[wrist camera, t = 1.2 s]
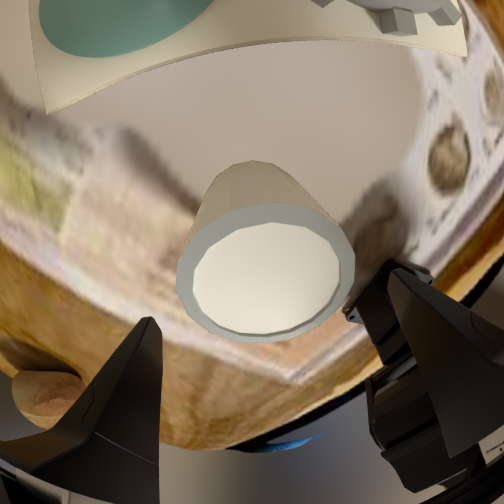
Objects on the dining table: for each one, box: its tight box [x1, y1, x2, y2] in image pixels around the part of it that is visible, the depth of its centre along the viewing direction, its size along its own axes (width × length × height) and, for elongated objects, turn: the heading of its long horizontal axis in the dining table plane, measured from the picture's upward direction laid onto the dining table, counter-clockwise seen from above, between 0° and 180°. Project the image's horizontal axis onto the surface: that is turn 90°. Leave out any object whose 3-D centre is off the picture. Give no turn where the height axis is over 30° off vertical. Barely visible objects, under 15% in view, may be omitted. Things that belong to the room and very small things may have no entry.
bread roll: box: [12, 370, 86, 431], centre depth 24 cm, size 10×15×8 cm, turn 110°
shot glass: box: [176, 161, 355, 343], centre depth 13 cm, size 7×7×7 cm
